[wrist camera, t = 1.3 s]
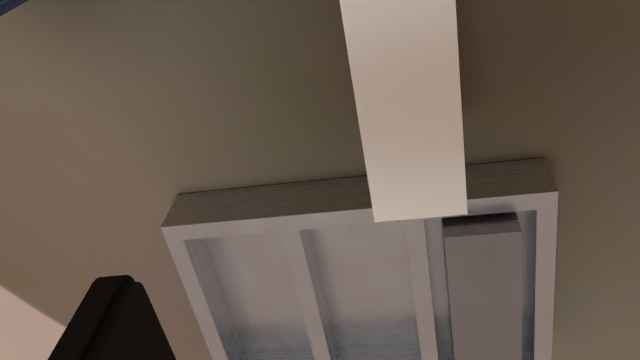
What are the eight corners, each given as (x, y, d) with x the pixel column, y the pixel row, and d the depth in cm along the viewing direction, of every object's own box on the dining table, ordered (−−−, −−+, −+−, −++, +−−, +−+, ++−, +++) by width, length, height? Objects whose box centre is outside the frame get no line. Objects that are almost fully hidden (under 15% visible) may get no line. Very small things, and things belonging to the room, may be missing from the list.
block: (434, -88, 21) (452, -43, 15) (448, 116, 25) (467, 214, 19) (349, -73, 21) (335, -24, 15) (377, 124, 25) (374, 222, 20)
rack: (543, 157, 25) (564, 206, 22) (539, 342, 31) (555, 400, 28) (177, 194, 28) (153, 241, 25) (236, 357, 34) (222, 411, 31)
